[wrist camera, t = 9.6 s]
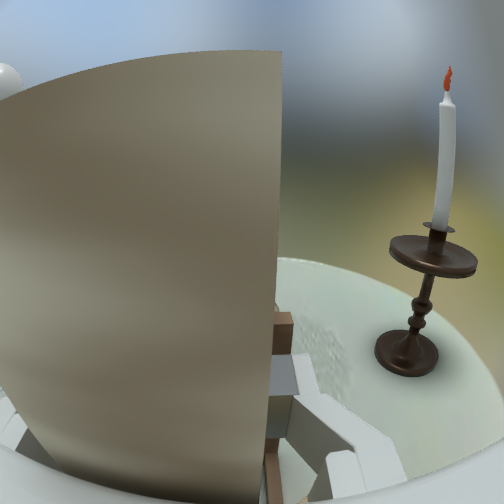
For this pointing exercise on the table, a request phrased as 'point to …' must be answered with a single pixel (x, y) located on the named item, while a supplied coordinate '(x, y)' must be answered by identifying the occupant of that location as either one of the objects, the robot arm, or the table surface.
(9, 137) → the tall tan column
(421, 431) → the table surface
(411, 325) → the candlestick
